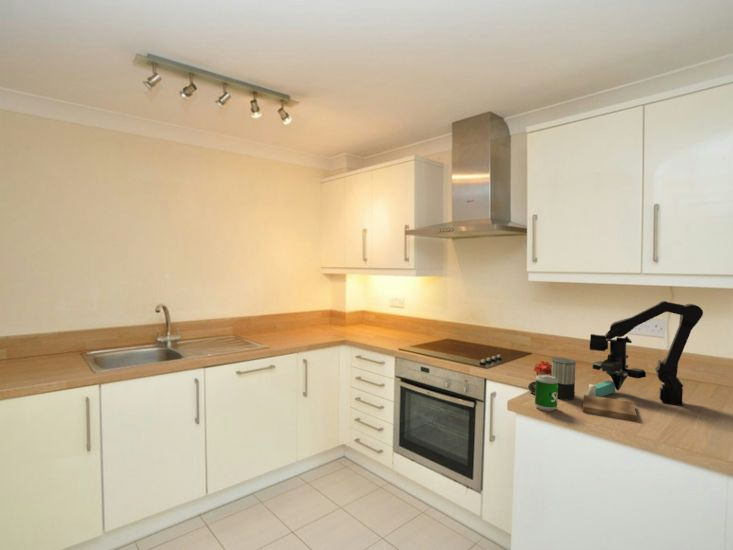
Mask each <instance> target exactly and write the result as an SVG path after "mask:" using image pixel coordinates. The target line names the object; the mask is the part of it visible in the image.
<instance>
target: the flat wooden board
mask: <svg viewBox="0 0 733 550" xmlns="http://www.w3.org/2000/svg"><path fill="white" fill-rule="evenodd" d="M582 405H583V406H582V413H585V412H588V413H587V414H591V413H593V414H592V415H597V414H598V416H603V415H604V416H605V417H609V416H611V417H610V418H615V417H616V418H615V419H620V418H622V420H626V419H628V420H629V421H632V420H634V422H637V416H638V415H637V413H636V409H635V405H634V403H633V401H628V400H622V399H618V398H617V399H616V398H610V397H605V396H603V397H597V396H591V395H588V394H583V401H582ZM628 420H627V421H628Z"/></svg>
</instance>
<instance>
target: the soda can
mask: <svg viewBox="0 0 733 550" xmlns="http://www.w3.org/2000/svg"><path fill="white" fill-rule="evenodd" d="M535 382H536V383H535V385H534V386H535V393H534V406H536V407H537V409H538V410H541V411H546V412H554V411H555V410H556V409H557V408H558V398H557V396H558V379H557V378H556V377H555V376H553V375H549V374H539V375H538V376H537V375H536V377H535ZM554 409H555V410H554ZM553 410H554V411H553Z"/></svg>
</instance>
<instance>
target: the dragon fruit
mask: <svg viewBox="0 0 733 550" xmlns="http://www.w3.org/2000/svg"><path fill="white" fill-rule="evenodd" d="M533 371H534V372H535V373H536V377H537V376H538V375H539V374H549V375H552V364H550V363H549V362H548V361H545V360H542V361H538V362H537V363H535V365H534V368H533Z"/></svg>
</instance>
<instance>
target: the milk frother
mask: <svg viewBox="0 0 733 550" xmlns="http://www.w3.org/2000/svg"><path fill="white" fill-rule="evenodd" d="M550 360H551V365H552V375H553V376H555V377H556V378H557V379H558V396H557V399H558V398H561V399H560V400H564V399H573V400H575V399H576V396H575V393H576V392H575V384H576V383H575V382H576V367H577V366H576V364H577V361H576V360H575V359H570V358H565V357H552V358H551V359H550ZM535 383H536V381H531V382H530V383H529V384H528V387H527V388H528V390H529V392H531V393H533V394H535ZM574 398H575V399H574Z"/></svg>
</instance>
